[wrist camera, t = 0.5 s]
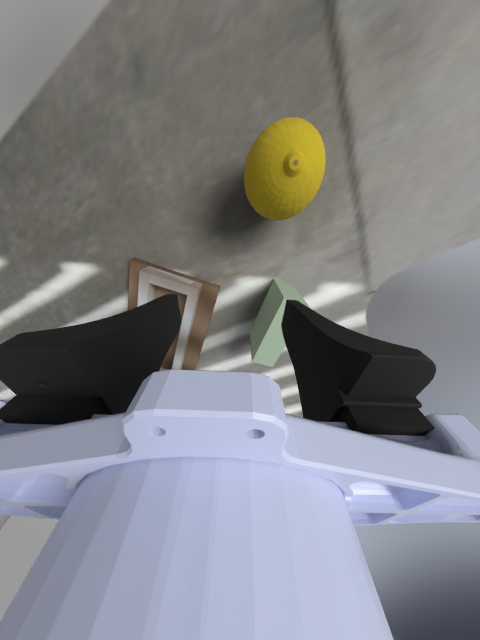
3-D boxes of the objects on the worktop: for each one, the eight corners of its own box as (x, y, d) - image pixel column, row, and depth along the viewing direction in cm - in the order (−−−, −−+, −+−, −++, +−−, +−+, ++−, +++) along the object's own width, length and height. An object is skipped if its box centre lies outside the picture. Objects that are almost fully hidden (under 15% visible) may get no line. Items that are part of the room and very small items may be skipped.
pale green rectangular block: (266, 336, 25) (272, 367, 20) (249, 331, 25) (251, 361, 19) (292, 285, 21) (309, 306, 16) (273, 278, 21) (284, 298, 16)
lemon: (237, 211, 17) (234, 206, 11) (252, 137, 15) (262, 63, 8) (289, 226, 18) (319, 231, 11) (313, 157, 15) (372, 106, 8)
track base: (193, 375, 29) (188, 390, 26) (129, 359, 27) (118, 374, 25) (220, 286, 21) (217, 295, 19) (134, 258, 20) (118, 263, 17)
